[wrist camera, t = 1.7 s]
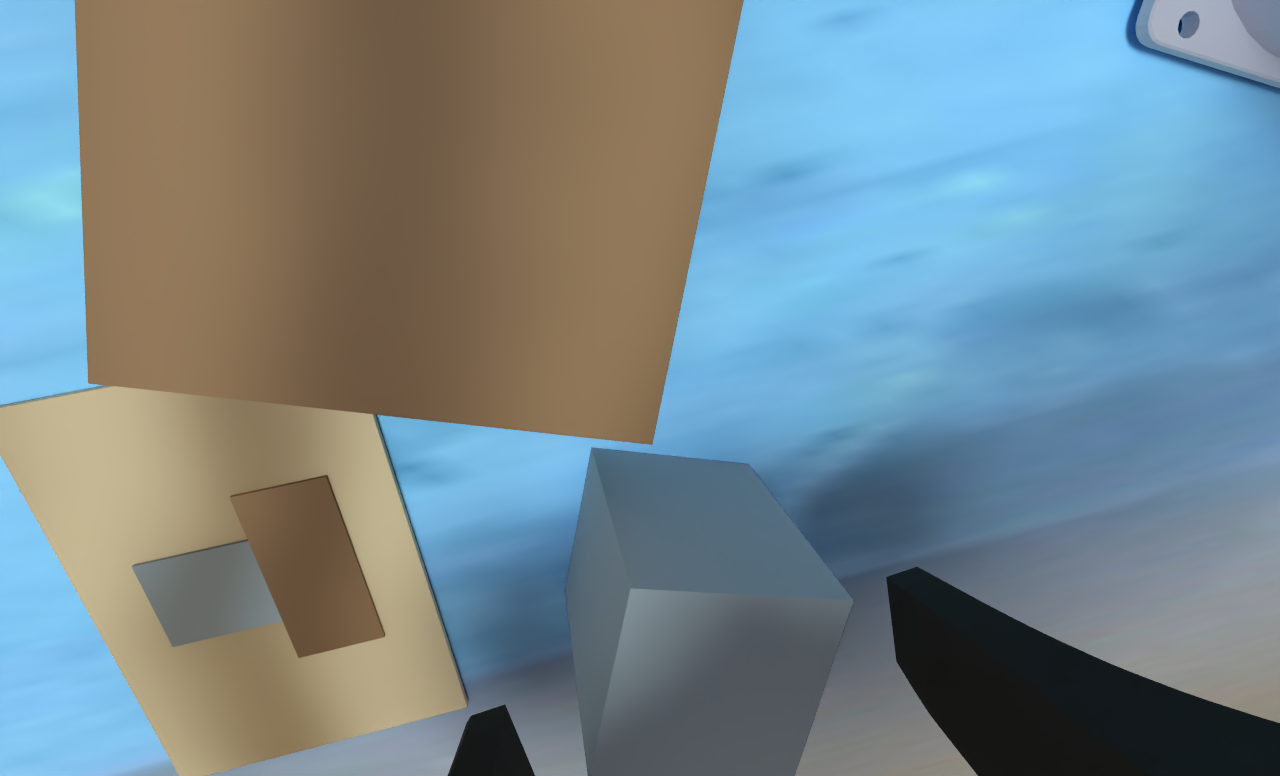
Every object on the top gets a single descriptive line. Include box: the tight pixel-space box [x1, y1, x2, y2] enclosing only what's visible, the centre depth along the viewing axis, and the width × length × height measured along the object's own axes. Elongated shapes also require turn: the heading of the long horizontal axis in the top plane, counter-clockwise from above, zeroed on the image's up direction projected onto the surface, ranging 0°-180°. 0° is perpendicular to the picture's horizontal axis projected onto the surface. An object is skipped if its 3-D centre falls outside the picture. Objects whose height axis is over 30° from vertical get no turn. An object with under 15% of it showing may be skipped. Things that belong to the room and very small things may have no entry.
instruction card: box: [0, 385, 468, 776], centre depth 15 cm, size 7×10×1 cm
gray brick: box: [565, 448, 854, 776], centre depth 14 cm, size 4×4×6 cm
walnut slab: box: [75, 0, 743, 445], centre depth 11 cm, size 9×9×3 cm
